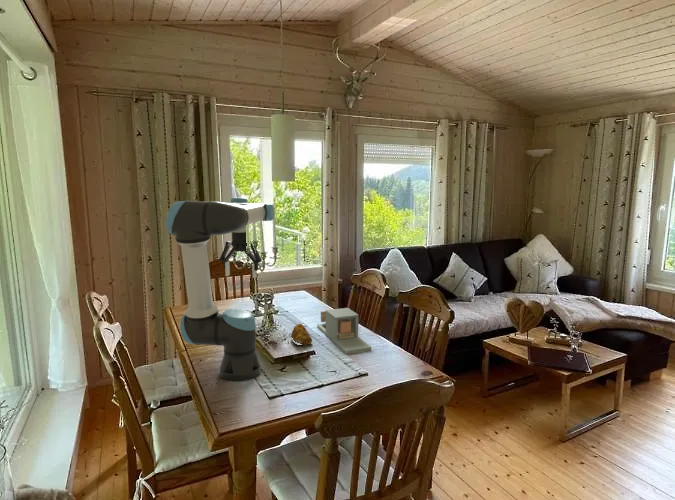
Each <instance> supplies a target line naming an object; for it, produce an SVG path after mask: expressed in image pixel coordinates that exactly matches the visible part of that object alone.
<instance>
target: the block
mask: <svg viewBox="0 0 675 500" xmlns="http://www.w3.org/2000/svg"><path fill="white" fill-rule="evenodd" d="M348 332H351V321H350V320H348V319H347V318H346V319H338V333H339V334H340V333H348Z"/></svg>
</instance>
